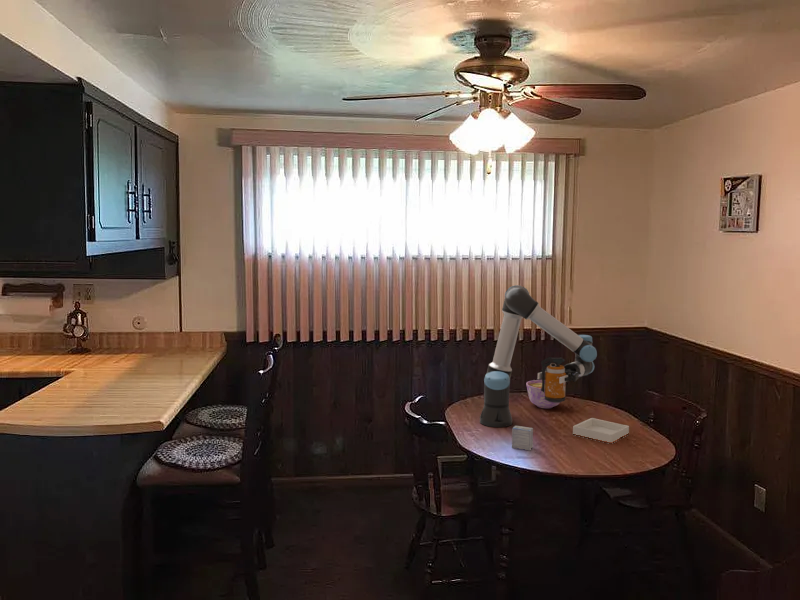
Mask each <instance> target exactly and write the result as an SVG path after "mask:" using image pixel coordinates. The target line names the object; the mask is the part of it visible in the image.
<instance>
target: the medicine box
mask: <svg viewBox="0 0 800 600" xmlns="http://www.w3.org/2000/svg"><path fill="white" fill-rule="evenodd" d="M511 431H512V432H511V434H512V435H511V448H512V449H517V448H519V449H518V450H523V449H525V451H531V450H532V449H531V448H533V447H534V445H533V444H534V443H533V441H534V439H533V438H534V437H533V436H534V428H533V427H527V426H521V425H514V426H513V427H512V430H511Z"/></svg>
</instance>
